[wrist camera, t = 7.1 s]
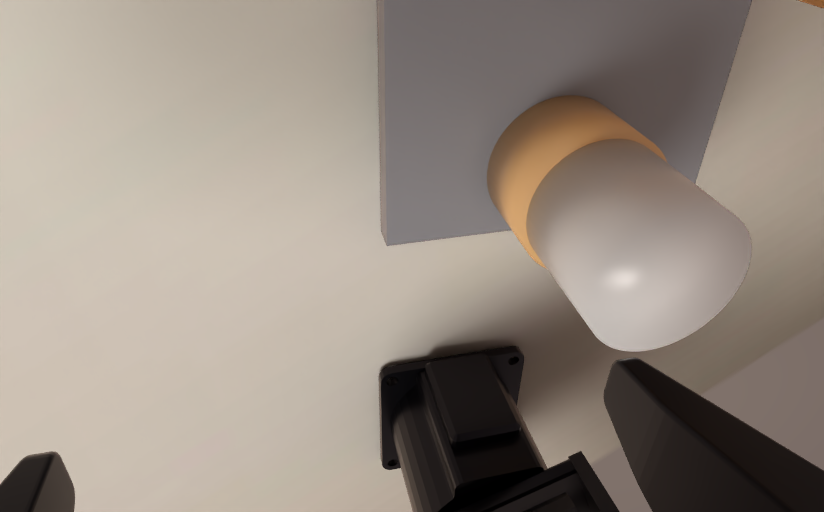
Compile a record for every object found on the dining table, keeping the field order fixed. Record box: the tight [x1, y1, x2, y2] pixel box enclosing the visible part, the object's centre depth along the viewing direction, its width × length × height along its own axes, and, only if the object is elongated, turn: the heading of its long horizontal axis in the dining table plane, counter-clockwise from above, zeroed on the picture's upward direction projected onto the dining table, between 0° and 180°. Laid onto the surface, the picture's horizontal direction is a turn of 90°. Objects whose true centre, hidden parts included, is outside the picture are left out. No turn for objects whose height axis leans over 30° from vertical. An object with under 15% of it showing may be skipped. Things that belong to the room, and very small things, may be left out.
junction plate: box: [377, 0, 752, 352], centre depth 16 cm, size 16×12×8 cm
